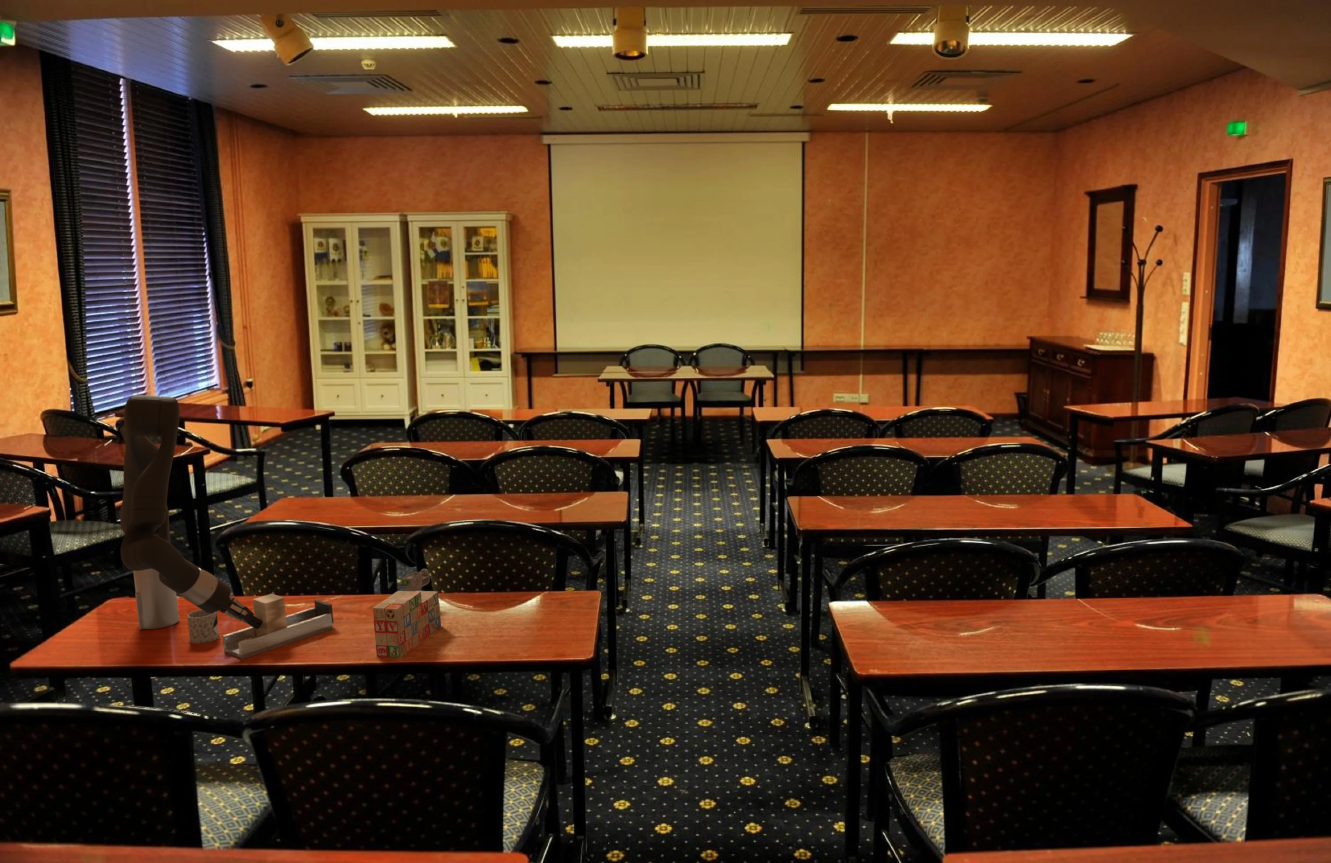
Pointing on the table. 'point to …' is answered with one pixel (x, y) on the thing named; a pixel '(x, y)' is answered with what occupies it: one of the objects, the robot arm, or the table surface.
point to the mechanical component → (416, 580)
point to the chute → (280, 632)
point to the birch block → (270, 613)
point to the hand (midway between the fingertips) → (258, 625)
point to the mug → (202, 627)
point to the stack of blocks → (405, 621)
